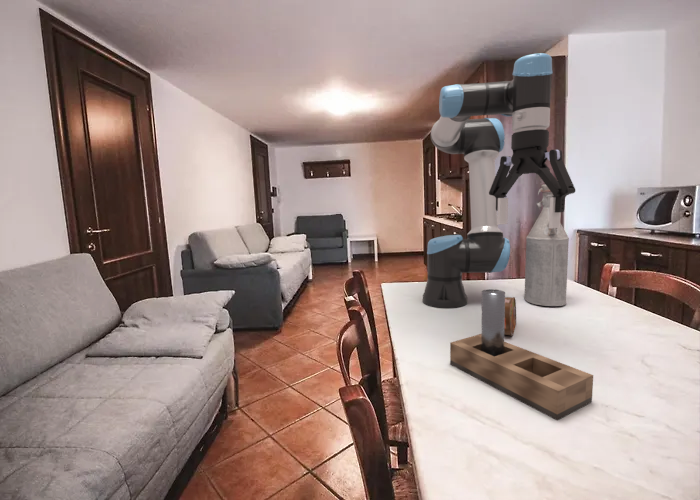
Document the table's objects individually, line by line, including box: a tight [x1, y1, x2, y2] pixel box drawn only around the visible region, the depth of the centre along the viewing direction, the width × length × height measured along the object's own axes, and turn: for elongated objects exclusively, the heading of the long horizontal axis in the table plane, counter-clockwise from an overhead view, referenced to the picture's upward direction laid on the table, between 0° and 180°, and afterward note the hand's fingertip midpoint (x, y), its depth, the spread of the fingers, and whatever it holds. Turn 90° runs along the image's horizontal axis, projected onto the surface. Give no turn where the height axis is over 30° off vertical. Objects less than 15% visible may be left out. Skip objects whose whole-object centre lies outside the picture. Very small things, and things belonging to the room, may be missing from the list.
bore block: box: [449, 333, 594, 421], centre depth 71 cm, size 24×10×5 cm, turn 29°
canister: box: [523, 184, 570, 307], centre depth 121 cm, size 13×17×40 cm
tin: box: [504, 296, 517, 337], centre depth 98 cm, size 15×3×8 cm, turn 150°
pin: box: [480, 288, 506, 357], centre depth 74 cm, size 4×4×16 cm
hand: (526, 226), depth 84 cm, fingers open, 13 cm apart
